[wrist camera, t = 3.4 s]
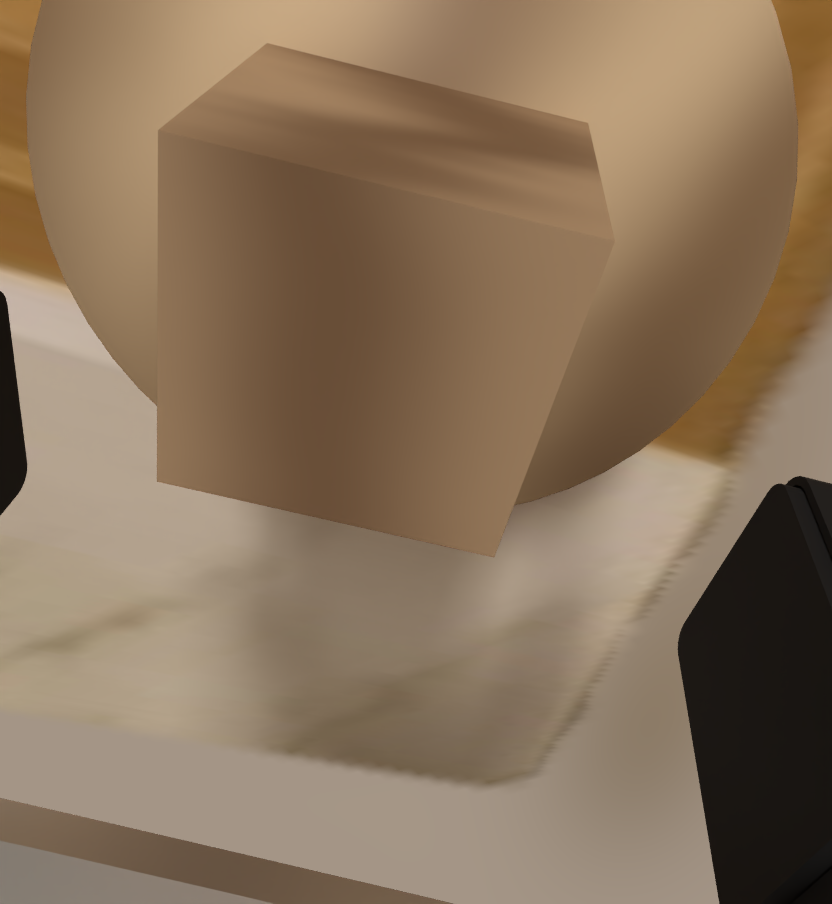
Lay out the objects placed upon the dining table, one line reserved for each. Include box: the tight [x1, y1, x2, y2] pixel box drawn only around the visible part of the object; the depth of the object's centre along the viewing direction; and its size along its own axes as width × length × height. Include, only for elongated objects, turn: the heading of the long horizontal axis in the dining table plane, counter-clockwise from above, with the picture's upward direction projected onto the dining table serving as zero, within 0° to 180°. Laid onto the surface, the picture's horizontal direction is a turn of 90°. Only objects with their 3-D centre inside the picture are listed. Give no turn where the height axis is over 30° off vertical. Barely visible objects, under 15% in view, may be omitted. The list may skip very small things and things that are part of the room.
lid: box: [26, 0, 798, 557], centre depth 13 cm, size 14×14×6 cm
